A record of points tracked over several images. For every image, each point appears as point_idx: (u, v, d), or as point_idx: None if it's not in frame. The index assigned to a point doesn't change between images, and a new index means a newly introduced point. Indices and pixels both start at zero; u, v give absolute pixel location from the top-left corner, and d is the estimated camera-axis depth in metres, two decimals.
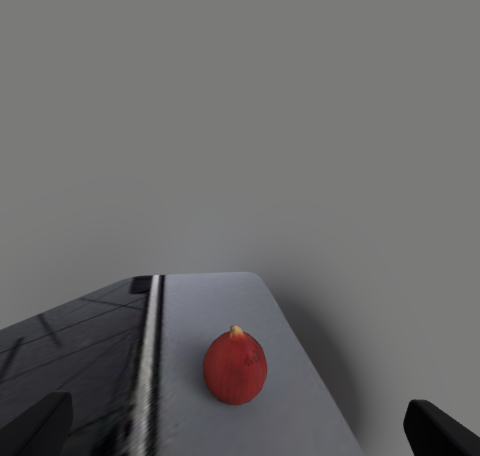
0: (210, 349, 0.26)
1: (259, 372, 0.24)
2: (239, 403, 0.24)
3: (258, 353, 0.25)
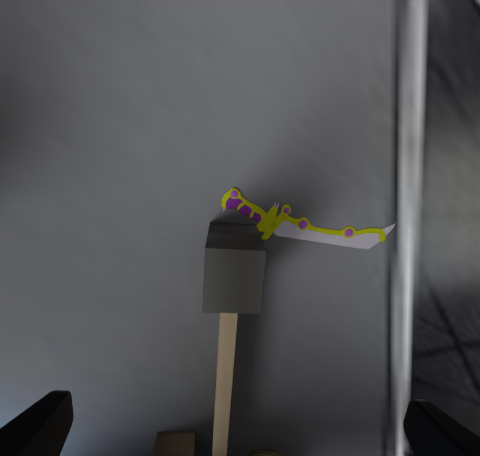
0: None
1: None
2: None
3: None
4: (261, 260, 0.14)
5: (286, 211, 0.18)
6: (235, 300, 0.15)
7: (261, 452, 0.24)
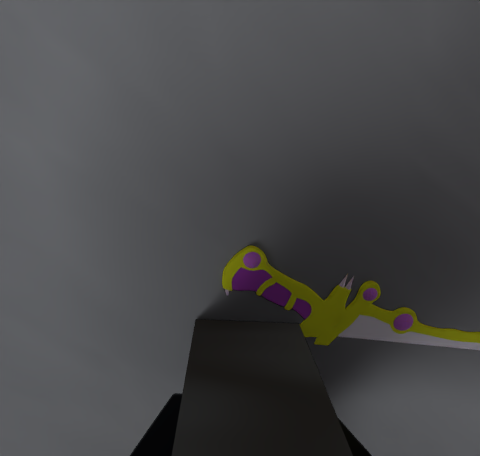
0: None
1: None
2: None
3: None
4: None
5: (370, 297, 0.08)
6: None
7: None
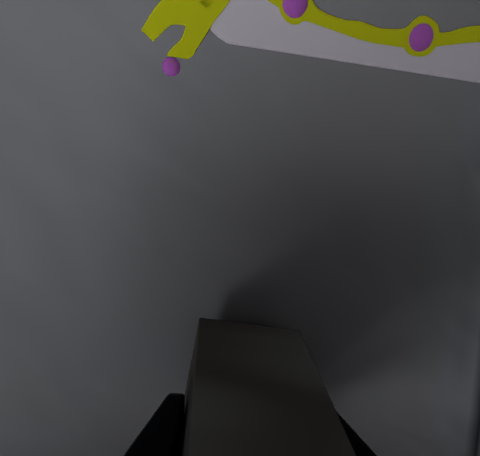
0: None
1: None
2: None
3: None
4: None
5: None
6: None
7: None
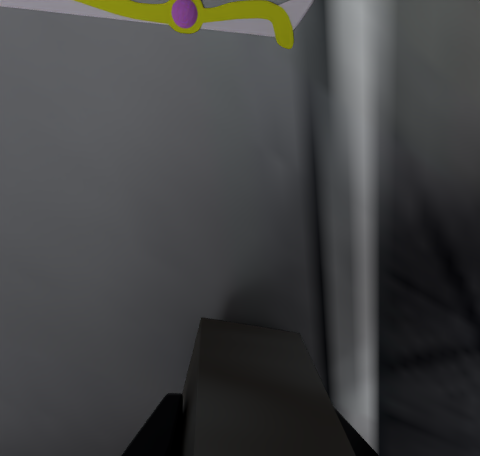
0: None
1: None
2: None
3: None
4: None
5: None
6: None
7: None
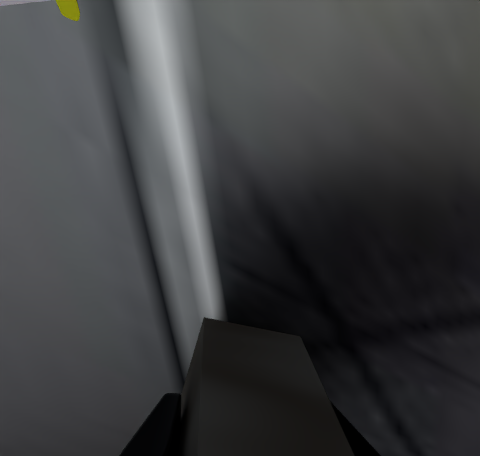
0: None
1: None
2: None
3: None
4: None
5: None
6: None
7: None
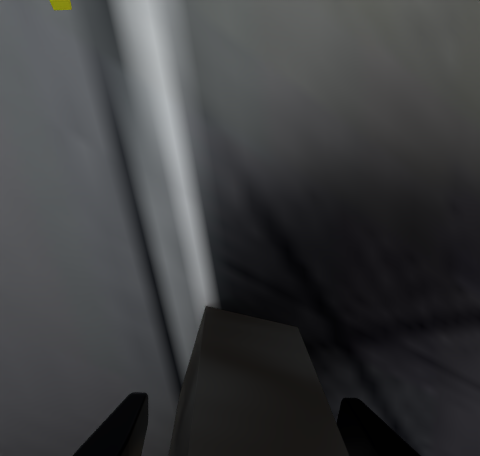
0: None
1: None
2: None
3: None
4: None
5: None
6: None
7: None
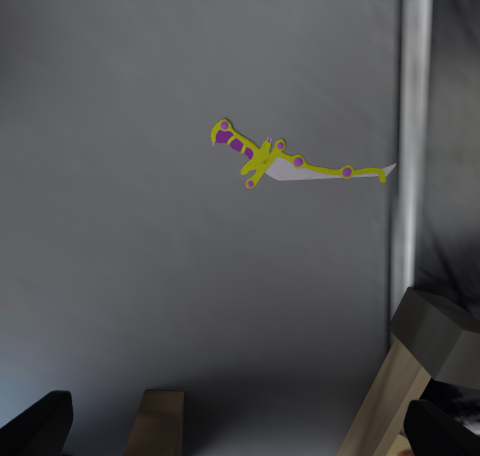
0: None
1: None
2: None
3: None
4: None
5: (280, 146, 0.17)
6: (465, 375, 0.17)
7: None
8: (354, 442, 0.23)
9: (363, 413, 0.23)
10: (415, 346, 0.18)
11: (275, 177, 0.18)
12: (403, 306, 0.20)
